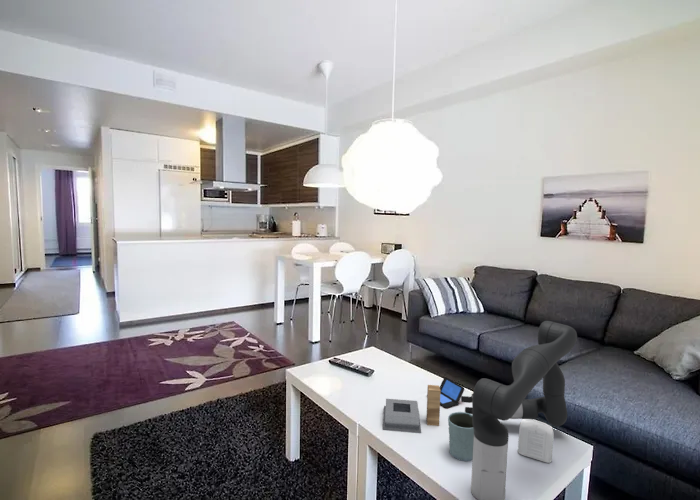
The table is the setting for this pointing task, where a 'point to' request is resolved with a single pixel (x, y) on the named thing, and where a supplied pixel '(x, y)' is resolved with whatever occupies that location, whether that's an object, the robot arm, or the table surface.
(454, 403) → the handheld game console
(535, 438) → the photo printer
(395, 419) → the metal socket
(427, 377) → the table surface
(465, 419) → the teal cup
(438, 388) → the oak pin
